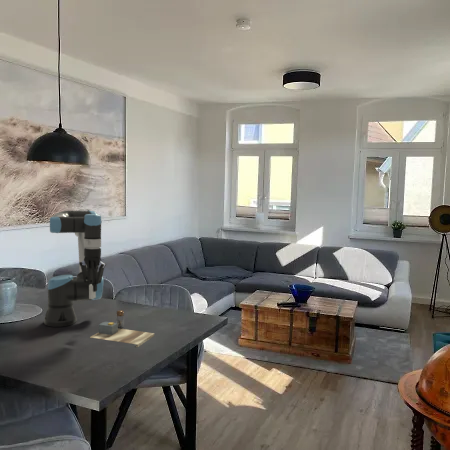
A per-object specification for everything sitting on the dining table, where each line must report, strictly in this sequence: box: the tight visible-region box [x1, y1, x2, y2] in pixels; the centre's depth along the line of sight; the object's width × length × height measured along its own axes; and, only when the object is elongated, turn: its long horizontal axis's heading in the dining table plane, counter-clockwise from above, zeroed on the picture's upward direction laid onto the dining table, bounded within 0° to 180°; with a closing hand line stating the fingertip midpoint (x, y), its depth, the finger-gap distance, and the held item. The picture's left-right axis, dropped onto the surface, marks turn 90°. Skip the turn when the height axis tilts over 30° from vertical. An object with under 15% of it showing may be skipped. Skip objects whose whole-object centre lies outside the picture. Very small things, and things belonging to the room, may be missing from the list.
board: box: [89, 328, 155, 348], centre depth 210 cm, size 24×16×1 cm, turn 73°
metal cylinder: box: [116, 309, 125, 329], centre depth 221 cm, size 3×3×9 cm
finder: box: [98, 321, 118, 335], centre depth 213 cm, size 7×5×5 cm
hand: (92, 298), depth 214 cm, fingers closed
